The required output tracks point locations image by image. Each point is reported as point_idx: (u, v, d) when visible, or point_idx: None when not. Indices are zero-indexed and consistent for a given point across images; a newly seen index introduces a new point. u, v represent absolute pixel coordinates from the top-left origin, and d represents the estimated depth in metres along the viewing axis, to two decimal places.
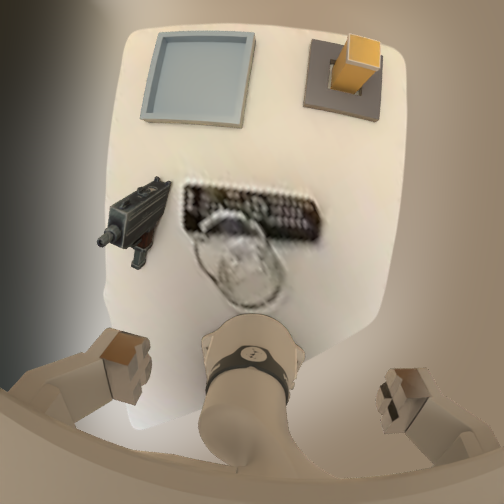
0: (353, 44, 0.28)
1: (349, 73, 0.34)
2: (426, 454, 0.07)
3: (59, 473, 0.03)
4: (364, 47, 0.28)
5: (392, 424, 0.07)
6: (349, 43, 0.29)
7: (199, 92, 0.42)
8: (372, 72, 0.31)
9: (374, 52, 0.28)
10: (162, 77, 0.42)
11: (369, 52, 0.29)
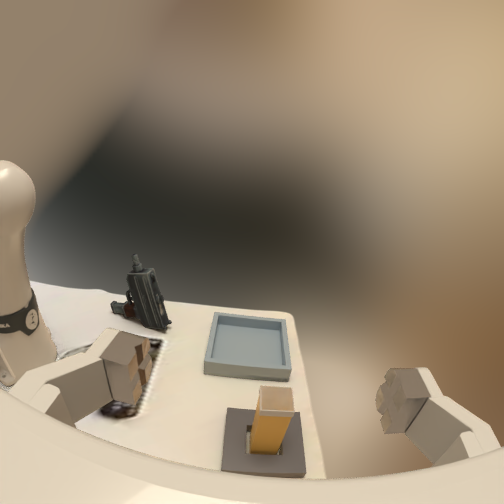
0: (280, 390, 0.36)
1: (256, 413, 0.37)
2: (426, 454, 0.07)
3: (59, 473, 0.03)
4: (281, 398, 0.35)
5: (393, 424, 0.07)
6: (280, 387, 0.36)
7: (234, 347, 0.60)
8: (259, 417, 0.34)
9: (277, 405, 0.33)
10: (248, 329, 0.66)
11: (276, 401, 0.34)
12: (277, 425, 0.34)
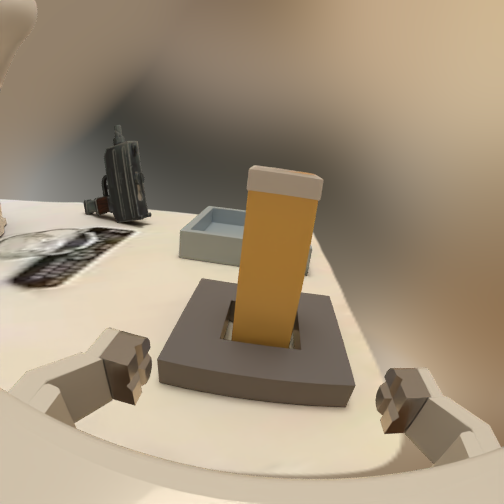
0: (291, 170, 0.20)
1: None
2: (426, 454, 0.07)
3: (59, 473, 0.03)
4: (293, 172, 0.18)
5: (392, 424, 0.07)
6: (291, 171, 0.20)
7: None
8: None
9: (286, 172, 0.17)
10: None
11: (283, 171, 0.18)
12: (286, 235, 0.18)
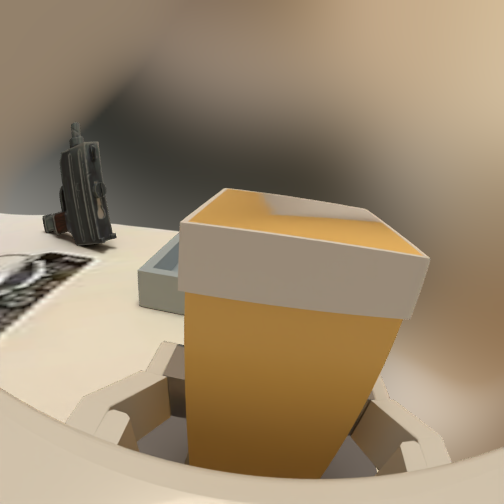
0: (315, 203, 0.08)
1: None
2: (373, 461, 0.07)
3: (59, 473, 0.03)
4: (324, 215, 0.07)
5: None
6: (313, 202, 0.08)
7: None
8: None
9: (309, 226, 0.05)
10: None
11: (298, 217, 0.06)
12: (302, 400, 0.06)
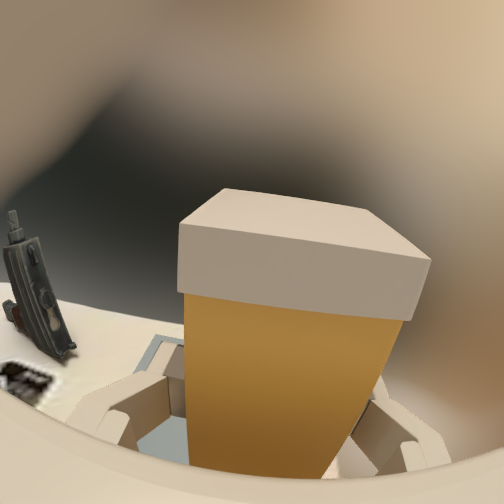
0: (315, 204, 0.08)
1: None
2: (372, 461, 0.07)
3: (59, 473, 0.03)
4: (324, 215, 0.07)
5: None
6: (314, 202, 0.08)
7: None
8: None
9: (310, 226, 0.05)
10: None
11: (299, 218, 0.06)
12: (302, 401, 0.06)
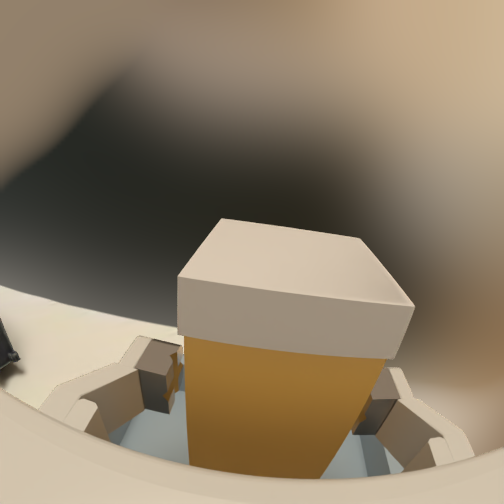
0: (309, 236, 0.08)
1: None
2: (397, 458, 0.07)
3: (59, 473, 0.03)
4: (317, 253, 0.07)
5: (361, 425, 0.08)
6: (308, 232, 0.09)
7: None
8: None
9: (300, 273, 0.06)
10: None
11: (291, 260, 0.06)
12: (293, 425, 0.06)
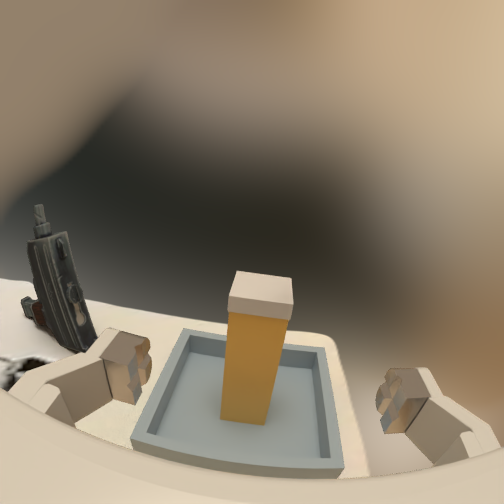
0: (269, 278, 0.23)
1: None
2: (426, 454, 0.07)
3: (59, 473, 0.03)
4: (269, 286, 0.21)
5: (393, 424, 0.07)
6: (270, 276, 0.23)
7: (214, 406, 0.25)
8: None
9: (261, 294, 0.20)
10: None
11: (260, 289, 0.21)
12: (262, 343, 0.21)
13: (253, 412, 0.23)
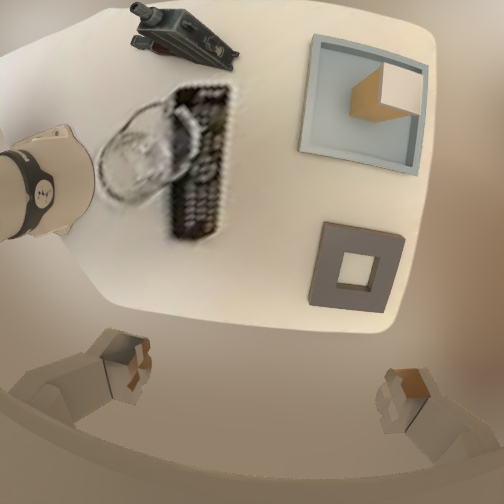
0: (408, 75, 0.21)
1: (369, 84, 0.26)
2: (426, 454, 0.07)
3: (59, 473, 0.03)
4: (407, 88, 0.22)
5: (393, 424, 0.07)
6: (408, 71, 0.21)
7: (345, 103, 0.34)
8: (374, 102, 0.24)
9: (402, 100, 0.22)
10: (369, 62, 0.32)
11: (401, 93, 0.22)
12: (392, 112, 0.26)
13: (373, 119, 0.33)
